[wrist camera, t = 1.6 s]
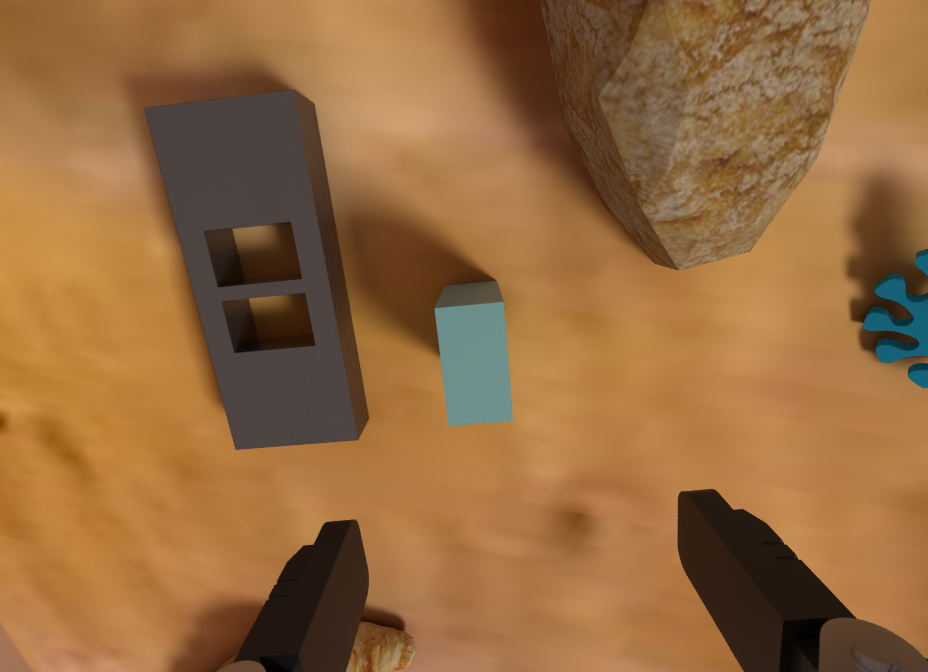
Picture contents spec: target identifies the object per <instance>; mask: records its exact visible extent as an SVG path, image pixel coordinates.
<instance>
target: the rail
mask: <svg viewBox="0 0 928 672" xmlns="http://www.w3.org/2000/svg"><path fill="white" fill-rule="evenodd" d="M144 110H145V114H146V118H147V121H148V125H149V129H150V132H151V136H152V140H153V144H154V147H155V151H156V155H157V159H158V162H159V166H160V170H161V173H162V177H163V181H164V185H165V188H166V192H167V196H168V200H169V203H170V207H171V211H172V214H173V218H174V222H175V226H176V229H177V233H178V237H179V241H180V244H181V248H182V252H183V255H184V259H185V263H186V267H187V270H188V274H189V278H190V282H191V285H192V289H193V293H194V296H195V300H196V304H197V308H198V311H199V315H200V319H201V323H202V326H203V330H204V334H205V337H206V341H207V345H208V349H209V352H210V356H211V360H212V364H213V367H214V371H215V375H216V378H217V382H218V386H219V390H220V393H221V397H222V401H223V405H224V408H225V412H226V416H227V419H228V423H229V427H230V431H231V434H232V438H233V442H234V446H235V449H236V450H239V449H252V448H265V447H277V446H290V445H302V444H315V443H328V442H340V441H353V440H358V439H359V437H360V435H361V433H362V432H363V430H364V428H365V426H366V424H367V422H368V420H369V415H368V409H367V404H366V398H365V392H364V386H363V381H362V375H361V369H360V363H359V358H358V352H357V346H356V340H355V335H354V329H353V323H352V317H351V312H350V306H349V300H348V294H347V289H346V283H345V277H344V271H343V266H342V260H341V254H340V248H339V243H338V237H337V231H336V225H335V220H334V214H333V208H332V202H331V197H330V191H329V185H328V179H327V174H326V168H325V162H324V156H323V151H322V145H321V139H320V133H319V128H318V122H317V116H316V110H315V105H314V103H312V102H311V101H309V100H308V99H307V98H305V97H304V96H302V95H301V94H299V93H298V92H296V91H295V90H288V91H280V92H272V93H264V94H256V95H247V96H239V97H231V98H223V99H215V100H206V101H198V102H190V103H182V104H174V105H165V106H157V107H149V108H144ZM282 223H291V225H292V230H293V235H294V240H295V245H296V250H297V255H298V260H299V265H300V270H301V274H297V275H287V276H277V277H267V278H257V279H247V280H244V277H243V273H242V269H241V265H240V260H239V256H238V252H237V248H236V243H235V239H234V235H233V231H232V229H235V228H245V227H254V226H264V225H273V224H282ZM299 293H305V295H306V300H307V305H308V310H309V315H310V320H311V325H312V330H313V334H310V335H300V336H289V337H278V338H267V339H258V337H257V333H256V328H255V324H254V320H253V316H252V311H251V307H250V303H249V299H248V298H258V297H268V296H278V295H288V294H299Z"/></svg>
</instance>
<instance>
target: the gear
mask: <svg viewBox="0 0 928 672" xmlns="http://www.w3.org/2000/svg"><path fill="white" fill-rule="evenodd" d="M915 264H916V266H917V267H918V268H919V269H920V270H922V271H923V272H924V273H925V274H926V275H927V277H928V249H925V250H922V251H919V252H917V254H916V259H915ZM874 291H875V293H876V294H877V295H878V296H879V297H882V298H885V299H890V300H893V301H896V302H898V303H900V304H901V305H903V306H904V307H905V308H906V309H907V310H908V311H909V312H910V313H911V314H912V315H913V317H912V318H910V319H907V320H898V319H896V318H894V317H893V316H892V315H891V314H890V313H889V312H888V311H887V310H886V309H884V308H882V307H871V308H870V309H869V311H868V312H867V314H866V317H865V321H864V325H863V328H864V329H866V330H869V331H896V332H900V333H903V334H906V335H909V336H911V337H914V338H916V339H917V340H918V342H916V343H914V344H904V343H901V342H899V341H896V340H893V339H888V338H885V339H880V340H878V341H877V345H876V354H877V356H878V358H879V360H880V362H884V363H891V362H895V361H897V360H899V359H902V358H905V357H910V356H928V293H927V294H925V295H922V296H913V295H910V294H908V293H907V291H906V280H905V278H904V277H903V276H902V275H900V274H897V273H893V274H891V275H888V276H887V277H885V278H883V279H882V280H881V281H879V282H878V283H877V284H876V285H875V289H874ZM908 377H909V378H910V379H911V380H912V381H913V382H914V383H916V384H917V385H919V386H921V387H922V388H928V363H918V364H914V365H912V366H910V367H909V369H908Z"/></svg>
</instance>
